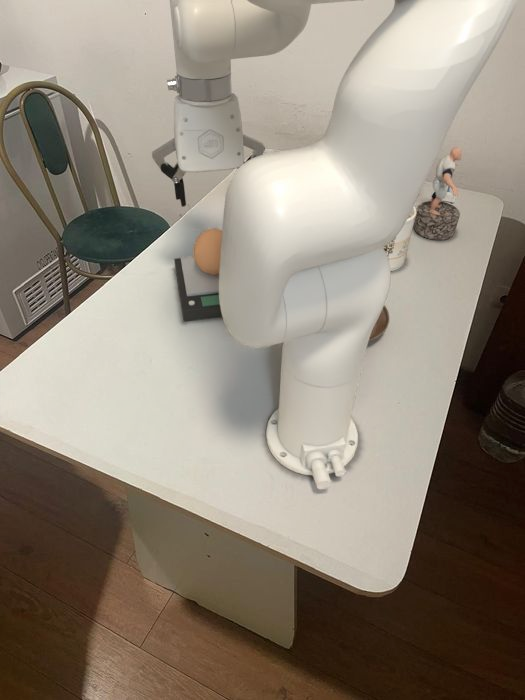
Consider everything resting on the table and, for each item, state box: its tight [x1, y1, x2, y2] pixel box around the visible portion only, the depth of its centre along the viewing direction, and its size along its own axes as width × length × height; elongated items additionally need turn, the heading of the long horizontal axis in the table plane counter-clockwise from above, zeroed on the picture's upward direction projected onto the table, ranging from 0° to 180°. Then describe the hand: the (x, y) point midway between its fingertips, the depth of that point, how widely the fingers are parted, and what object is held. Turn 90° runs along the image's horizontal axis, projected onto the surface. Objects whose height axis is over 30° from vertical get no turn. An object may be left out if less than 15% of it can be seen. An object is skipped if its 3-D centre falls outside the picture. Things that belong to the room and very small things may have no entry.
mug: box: [383, 205, 417, 272], centre depth 100 cm, size 10×12×11 cm
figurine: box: [413, 146, 462, 241], centre depth 106 cm, size 15×9×18 cm, turn 166°
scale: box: [173, 255, 223, 323], centre depth 94 cm, size 16×14×3 cm
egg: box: [192, 227, 222, 275], centre depth 91 cm, size 7×7×8 cm
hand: (212, 200), depth 84 cm, fingers open, 9 cm apart
